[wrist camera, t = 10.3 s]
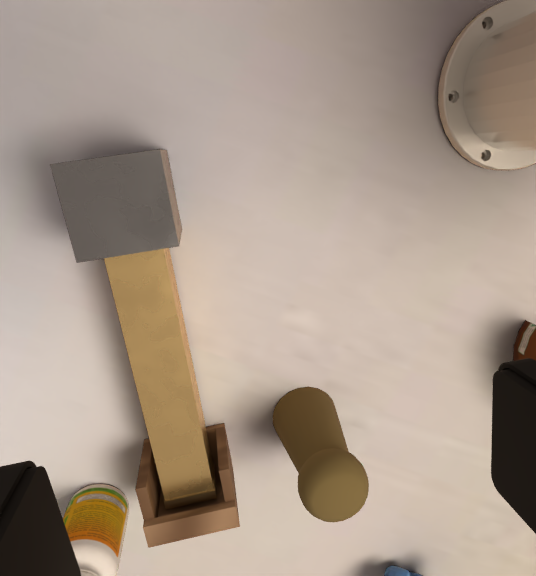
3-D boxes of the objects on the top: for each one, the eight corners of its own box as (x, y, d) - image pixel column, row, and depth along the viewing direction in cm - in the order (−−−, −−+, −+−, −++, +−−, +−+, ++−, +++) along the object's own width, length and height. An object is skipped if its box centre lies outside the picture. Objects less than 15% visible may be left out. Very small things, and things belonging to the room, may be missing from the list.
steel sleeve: (166, 150, 34) (159, 149, 27) (182, 229, 35) (179, 246, 29) (79, 162, 33) (50, 164, 26) (99, 242, 35) (76, 262, 28)
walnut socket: (224, 423, 41) (229, 474, 34) (232, 468, 42) (239, 526, 36) (144, 439, 40) (134, 495, 33) (156, 485, 42) (148, 547, 35)
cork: (259, 421, 41) (280, 511, 31) (303, 374, 41) (340, 449, 30) (305, 454, 43) (340, 549, 33) (348, 410, 43) (397, 492, 32)
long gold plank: (160, 200, 34) (156, 206, 30) (214, 464, 41) (216, 498, 37) (103, 209, 33) (91, 216, 29) (168, 474, 40) (165, 509, 36)
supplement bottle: (66, 483, 40) (28, 581, 31) (128, 480, 41) (109, 573, 32) (70, 532, 42) (34, 639, 32) (130, 528, 43) (112, 631, 33)
